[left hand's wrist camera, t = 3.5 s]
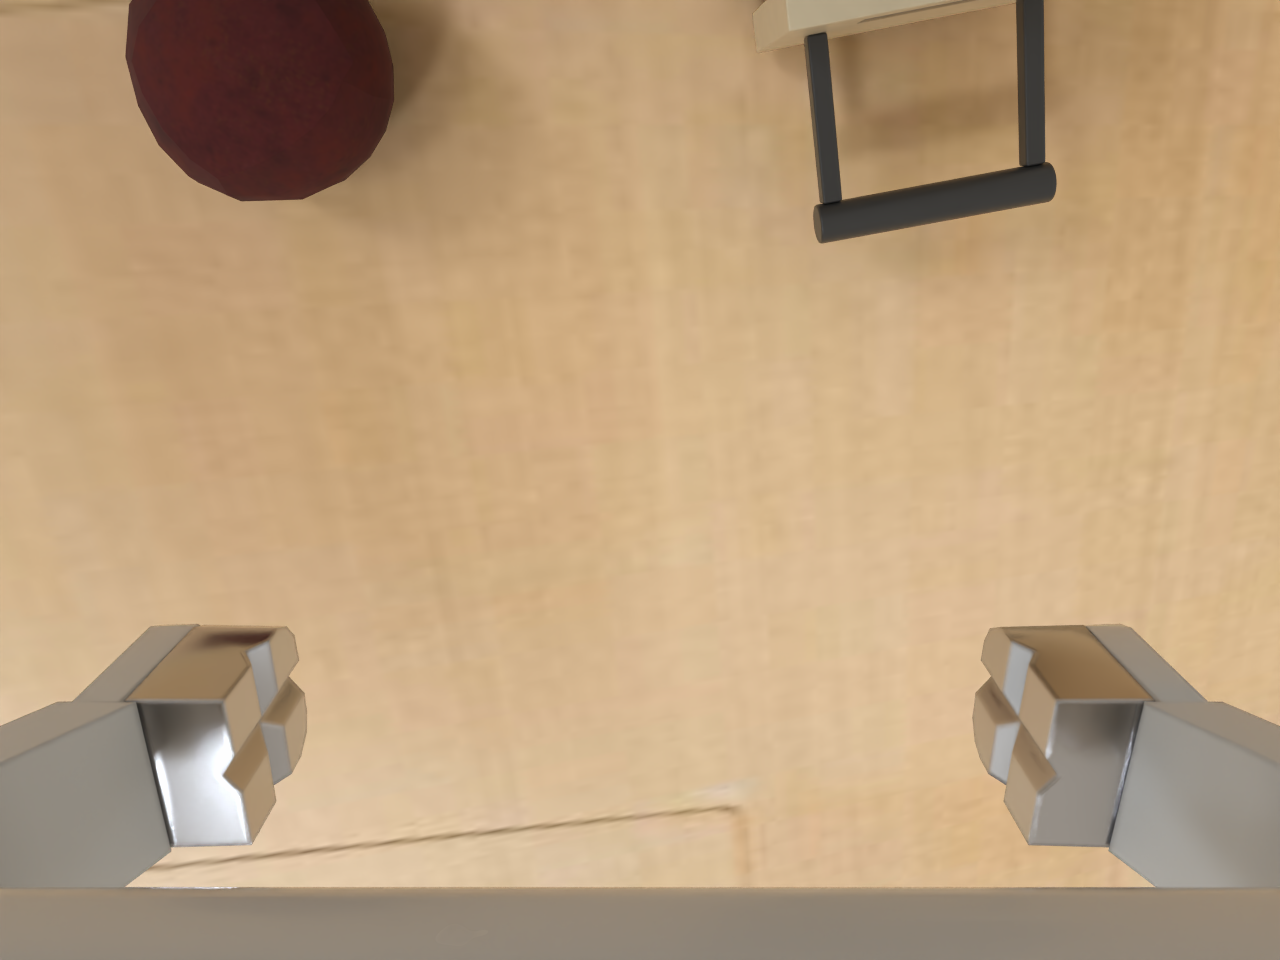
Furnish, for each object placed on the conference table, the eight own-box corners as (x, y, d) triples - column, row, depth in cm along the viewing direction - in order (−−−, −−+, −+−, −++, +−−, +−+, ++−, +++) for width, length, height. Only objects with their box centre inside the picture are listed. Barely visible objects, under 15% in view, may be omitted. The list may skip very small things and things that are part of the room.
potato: (460, 111, 30) (415, 102, 23) (287, 239, 31) (199, 264, 25) (318, -99, 28) (224, -175, 21) (139, 48, 29) (-1, 21, 23)
